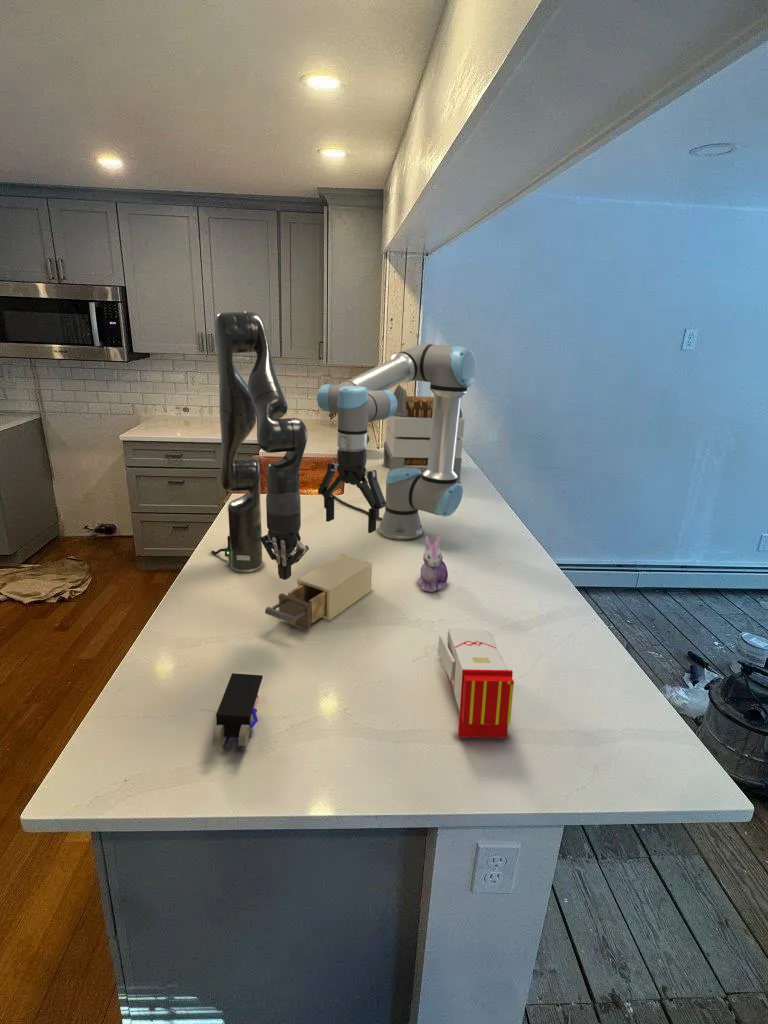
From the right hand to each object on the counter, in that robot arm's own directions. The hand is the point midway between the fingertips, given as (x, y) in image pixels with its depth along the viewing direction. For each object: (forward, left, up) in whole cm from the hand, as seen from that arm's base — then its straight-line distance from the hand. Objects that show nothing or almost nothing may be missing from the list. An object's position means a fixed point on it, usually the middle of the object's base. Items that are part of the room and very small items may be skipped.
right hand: (350, 525), depth 152 cm
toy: (+51, -7, -20) cm, 55 cm away
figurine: (+12, +21, -20) cm, 31 cm away
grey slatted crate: (-76, +101, -20) cm, 128 cm away
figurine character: (+32, -50, -20) cm, 62 cm away
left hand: (+8, -25, -5) cm, 27 cm away
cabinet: (+2, -6, -20) cm, 20 cm away
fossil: (-123, +99, -20) cm, 160 cm away
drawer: (+5, -17, -19) cm, 25 cm away
